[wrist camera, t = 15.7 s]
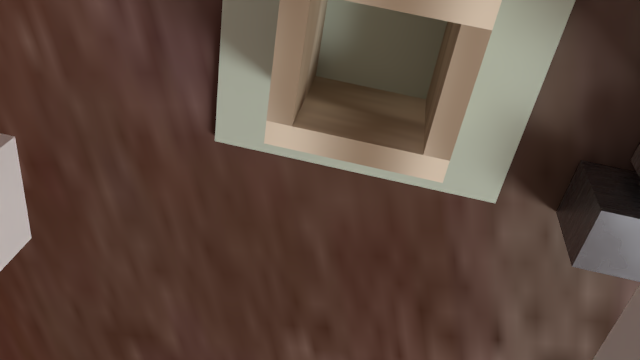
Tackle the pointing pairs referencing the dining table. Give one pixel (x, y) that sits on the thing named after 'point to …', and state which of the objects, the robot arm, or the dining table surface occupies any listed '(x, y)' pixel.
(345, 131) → the collar
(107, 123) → the dining table surface
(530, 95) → the mat
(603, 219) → the box
